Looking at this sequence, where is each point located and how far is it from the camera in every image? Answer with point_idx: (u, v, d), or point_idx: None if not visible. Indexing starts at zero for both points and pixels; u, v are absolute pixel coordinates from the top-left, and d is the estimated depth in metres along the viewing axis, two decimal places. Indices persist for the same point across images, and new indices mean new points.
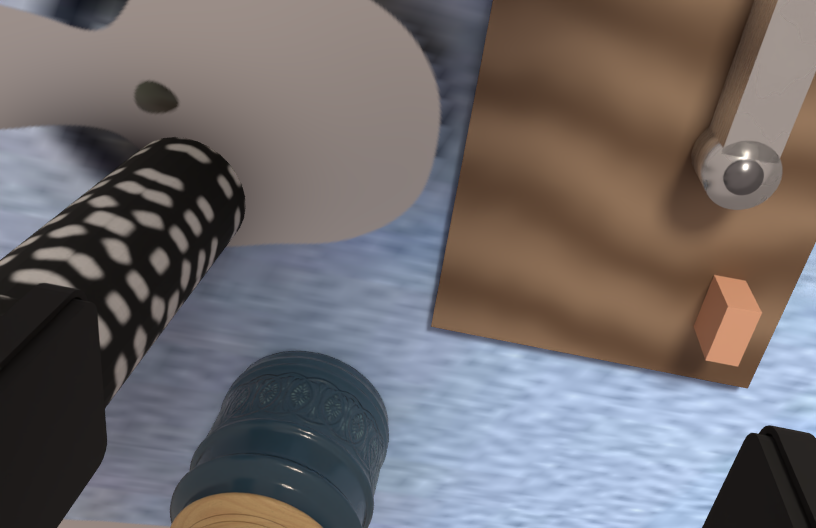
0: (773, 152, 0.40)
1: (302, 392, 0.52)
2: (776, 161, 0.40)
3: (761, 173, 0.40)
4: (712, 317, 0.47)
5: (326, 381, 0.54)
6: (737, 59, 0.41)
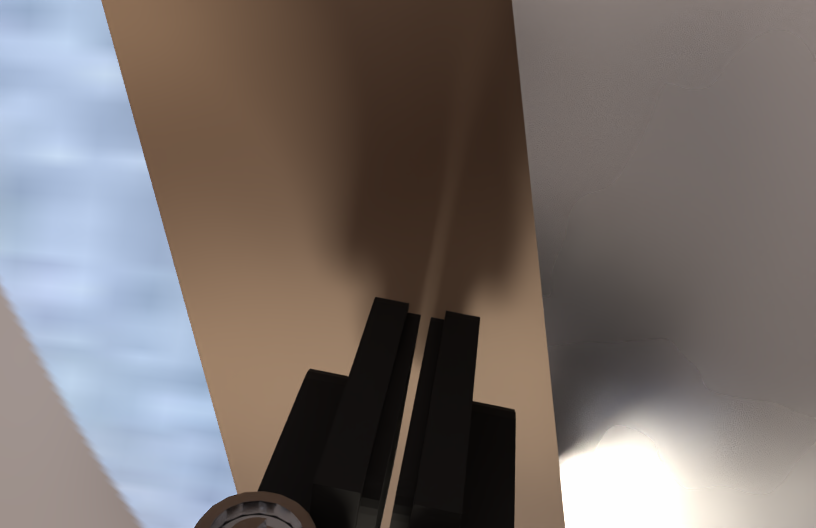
0: None
1: None
2: None
3: None
4: None
5: None
6: None
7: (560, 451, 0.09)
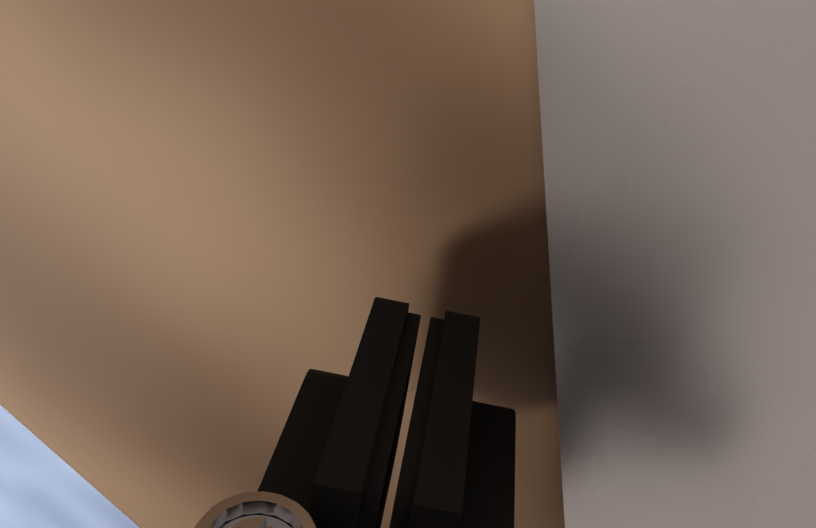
0: None
1: None
2: None
3: None
4: None
5: None
6: None
7: (562, 450, 0.09)
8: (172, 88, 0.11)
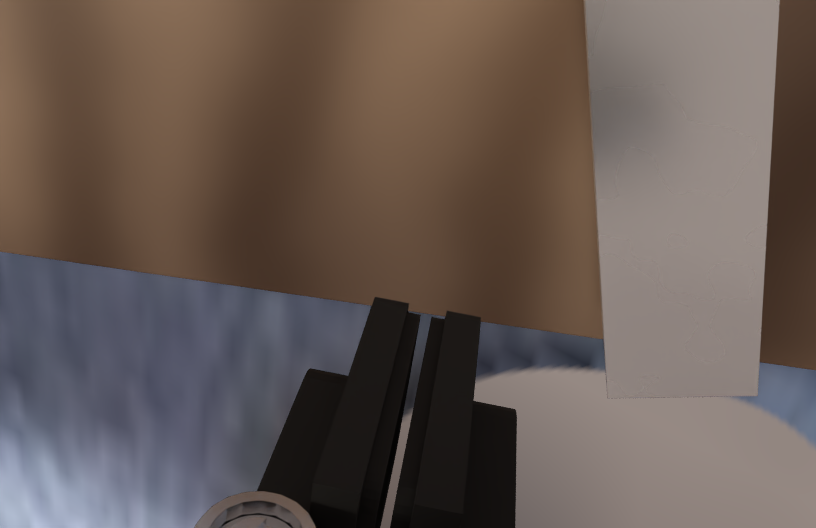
0: None
1: None
2: None
3: None
4: None
5: None
6: None
7: (596, 168, 0.14)
8: None
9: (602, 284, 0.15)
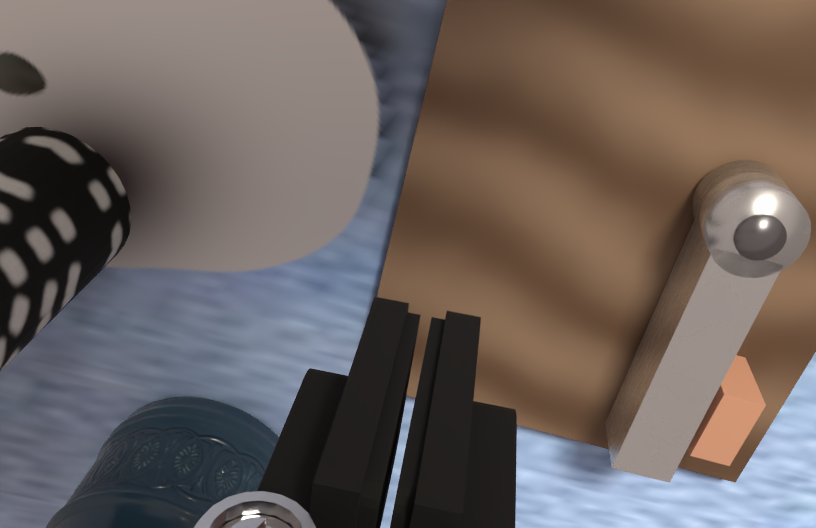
0: (718, 262, 0.32)
1: (190, 456, 0.42)
2: (715, 251, 0.32)
3: (737, 242, 0.31)
4: None
5: (223, 440, 0.44)
6: None
7: (649, 387, 0.36)
8: (799, 7, 0.31)
9: (631, 426, 0.37)
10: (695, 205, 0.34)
